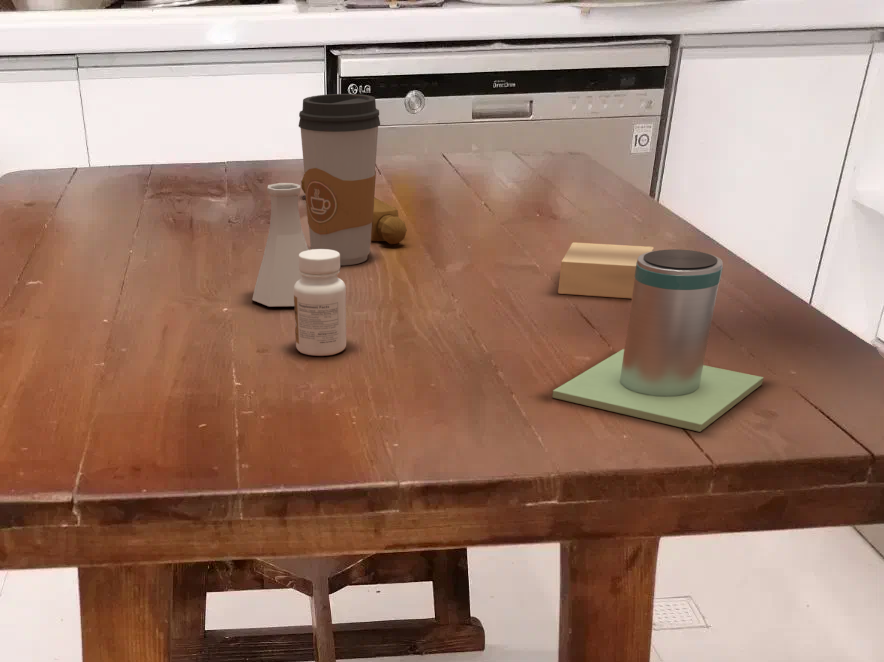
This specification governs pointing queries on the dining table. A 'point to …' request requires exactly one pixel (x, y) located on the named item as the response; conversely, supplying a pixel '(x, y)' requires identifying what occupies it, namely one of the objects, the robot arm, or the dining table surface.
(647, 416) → the mat
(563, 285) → the plate
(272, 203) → the flask
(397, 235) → the tap handle
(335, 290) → the pill bottle
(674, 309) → the tumbler
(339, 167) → the coffee cup
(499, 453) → the dining table surface
